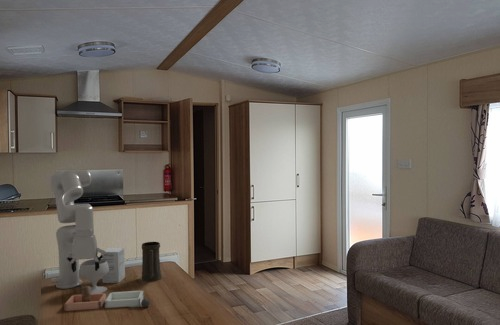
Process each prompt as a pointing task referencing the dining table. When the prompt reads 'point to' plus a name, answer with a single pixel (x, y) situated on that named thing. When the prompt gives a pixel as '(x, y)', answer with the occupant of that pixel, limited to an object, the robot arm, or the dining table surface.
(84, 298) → the walnut peg
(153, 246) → the beer stein
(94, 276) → the chalice
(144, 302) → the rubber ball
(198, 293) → the dining table surface
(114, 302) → the grey tub
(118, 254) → the supplement box
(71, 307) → the terracotta tub
